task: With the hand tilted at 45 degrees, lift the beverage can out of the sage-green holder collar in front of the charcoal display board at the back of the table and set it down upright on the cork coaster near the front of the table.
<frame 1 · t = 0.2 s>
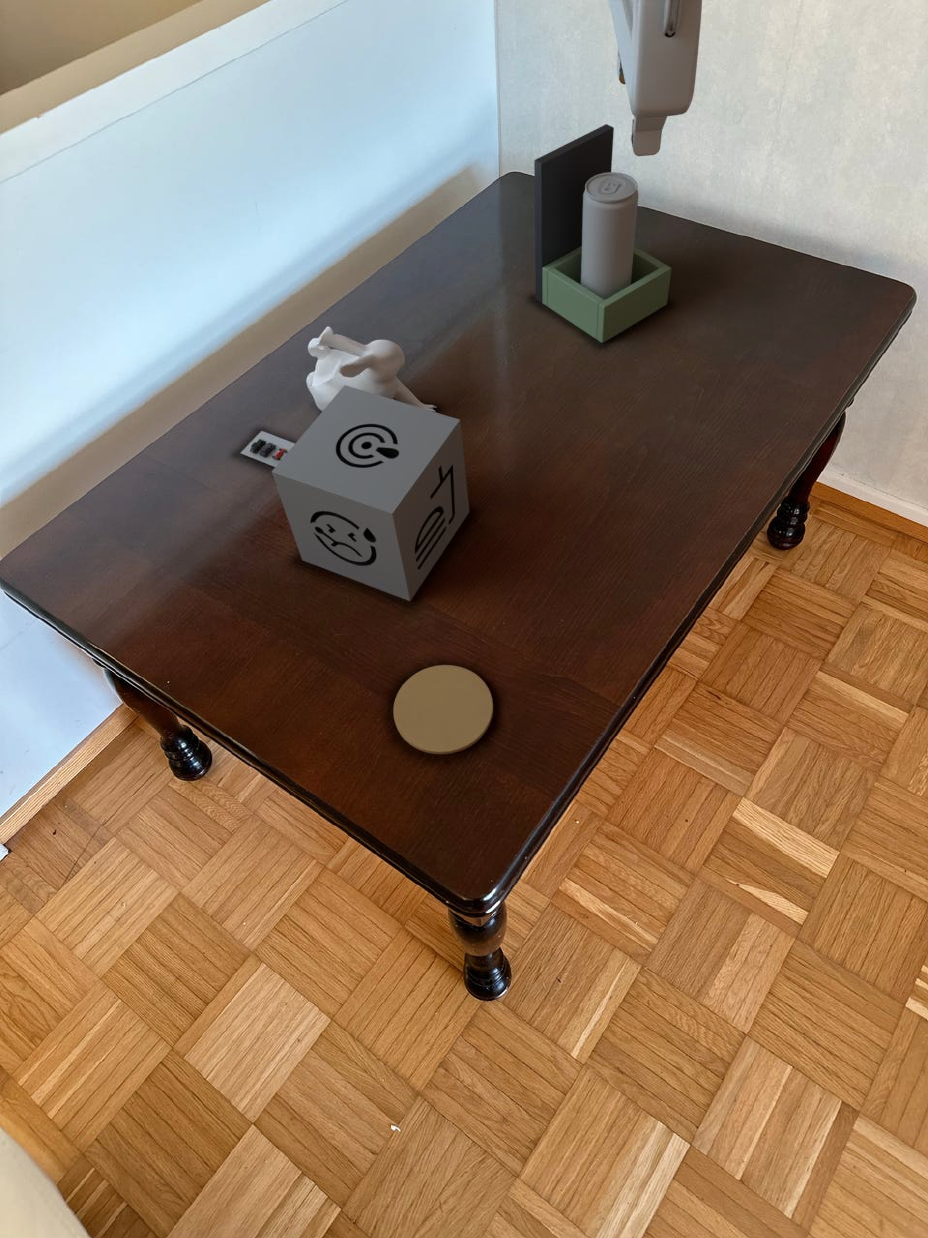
hand: (636, 112, 64), 23 cm above the table, tool pointing down, fingers open, 8 cm apart
beverage can: (604, 305, 89), resting in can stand
coaster: (443, 709, 64), on the table
rabbit figurine: (362, 419, 82), on the table
icon cube: (387, 537, 74), on the table
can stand: (604, 303, 89), on the table
toy car: (287, 457, 80), on the table
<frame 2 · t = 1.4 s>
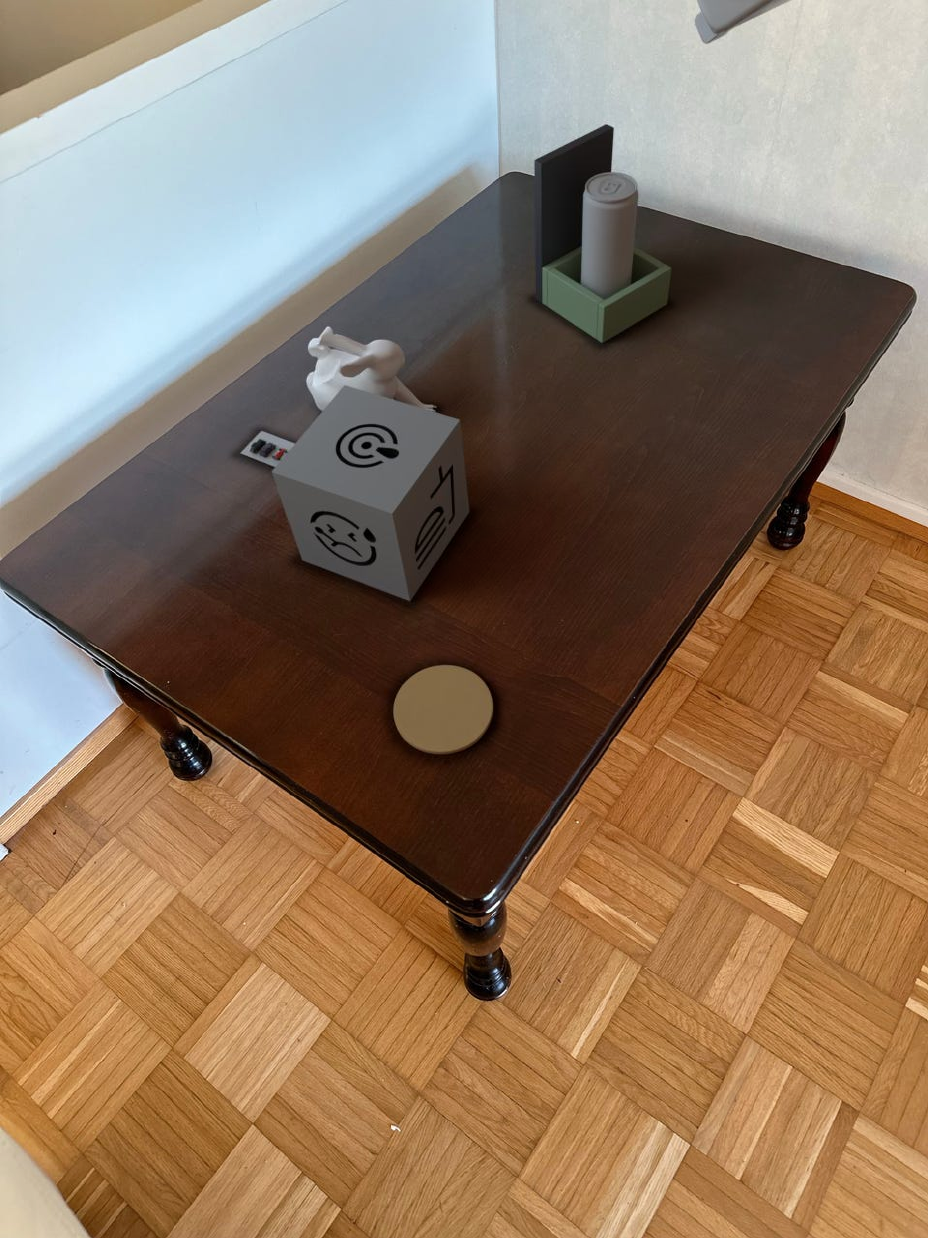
hand: (756, 4, 59), 29 cm above the table, tool tilted 45°, fingers open, 8 cm apart
nothing on the table moved.
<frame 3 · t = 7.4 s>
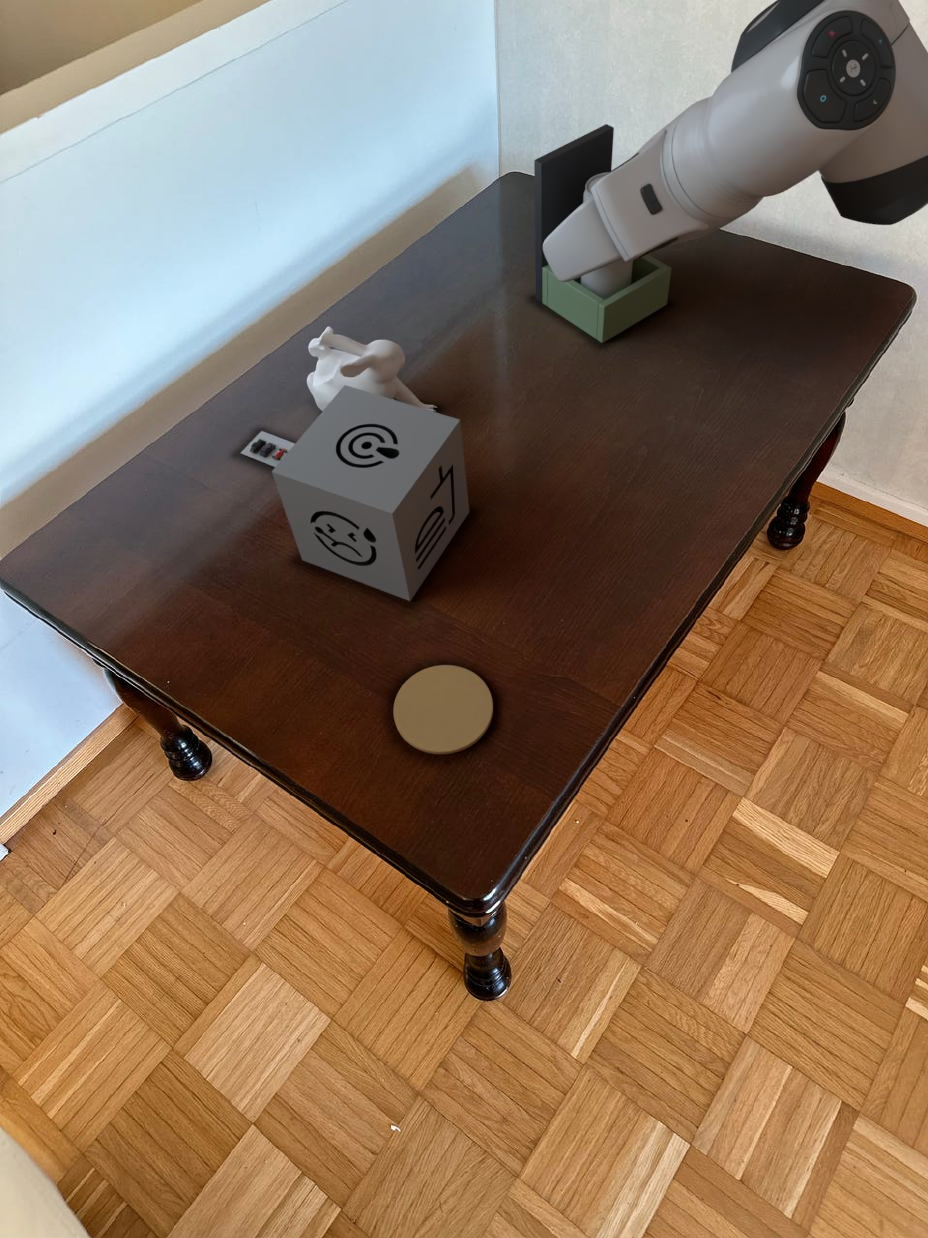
hand: (603, 239, 84), 7 cm above the table, tool tilted 45°, fingers closed on beverage can, 5 cm apart
beverage can: (604, 305, 89), resting in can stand, touching gripper
everything else where it was.
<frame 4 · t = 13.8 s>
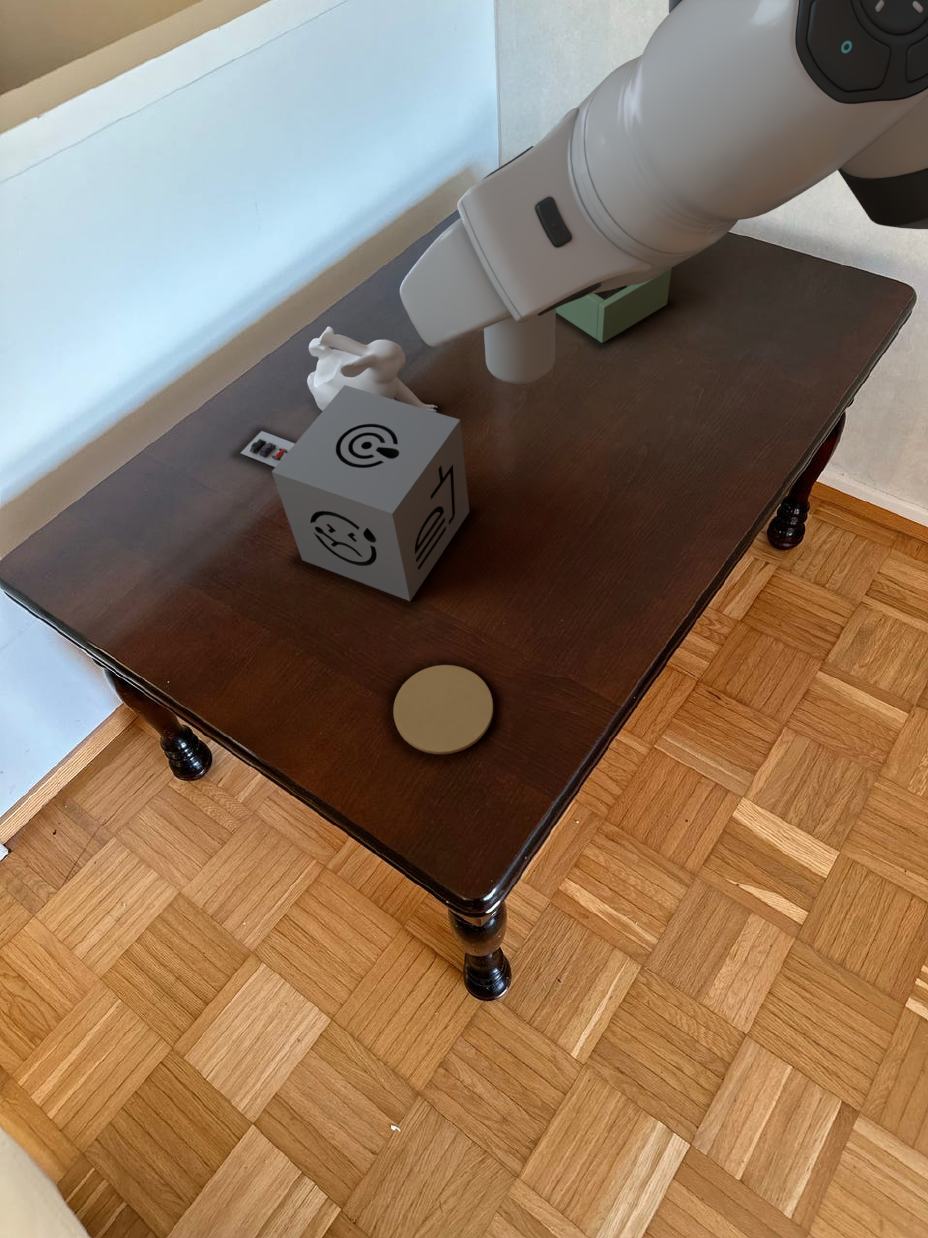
hand: (511, 276, 57), 21 cm above the table, tool tilted 45°, fingers closed on beverage can, 5 cm apart
beverage can: (520, 367, 62), point 14 cm above the table, touching gripper
everything else where it was.
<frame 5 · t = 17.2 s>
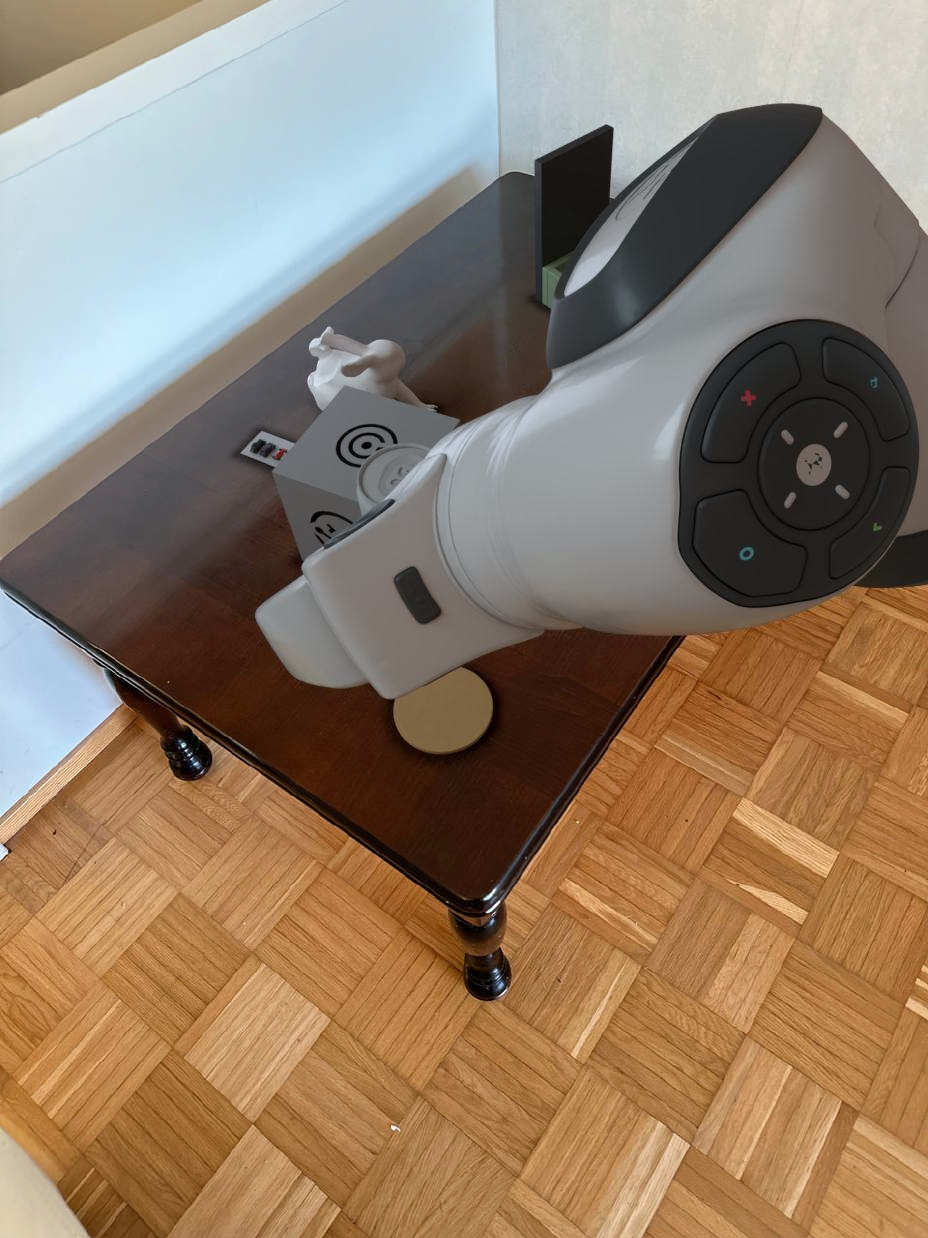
hand: (408, 540, 49), 18 cm above the table, tool tilted 45°, fingers closed on beverage can, 5 cm apart
beverage can: (427, 619, 54), point 11 cm above the table, touching gripper
everything else where it was.
when the fingers open (7 cm above the table, at t = 20.6 s): beverage can stays where it is, resting on coaster.
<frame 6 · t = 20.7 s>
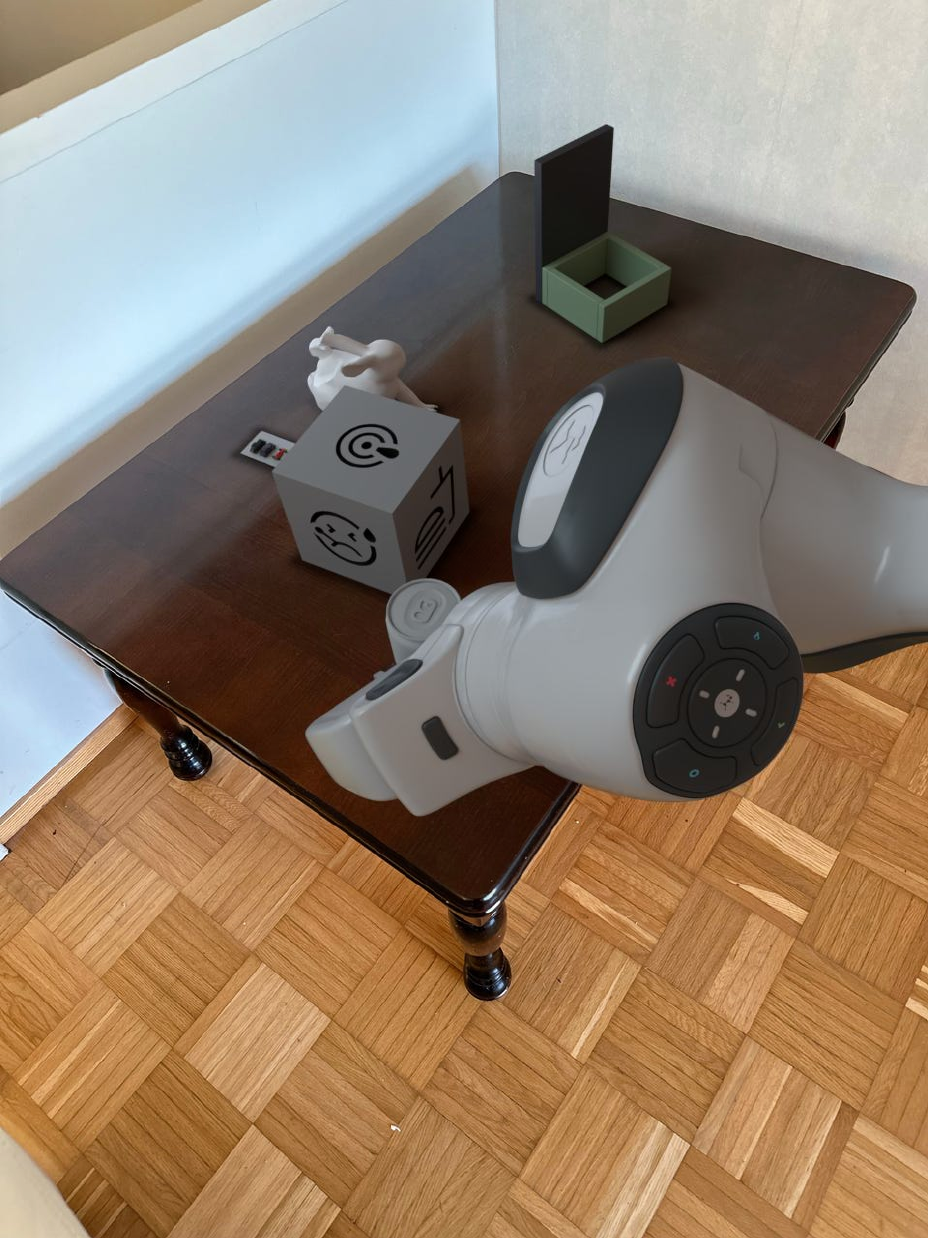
hand: (427, 652, 59), 7 cm above the table, tool tilted 45°, fingers open, 5 cm apart
beverage can: (442, 710, 63), resting on coaster
everything else where it was.
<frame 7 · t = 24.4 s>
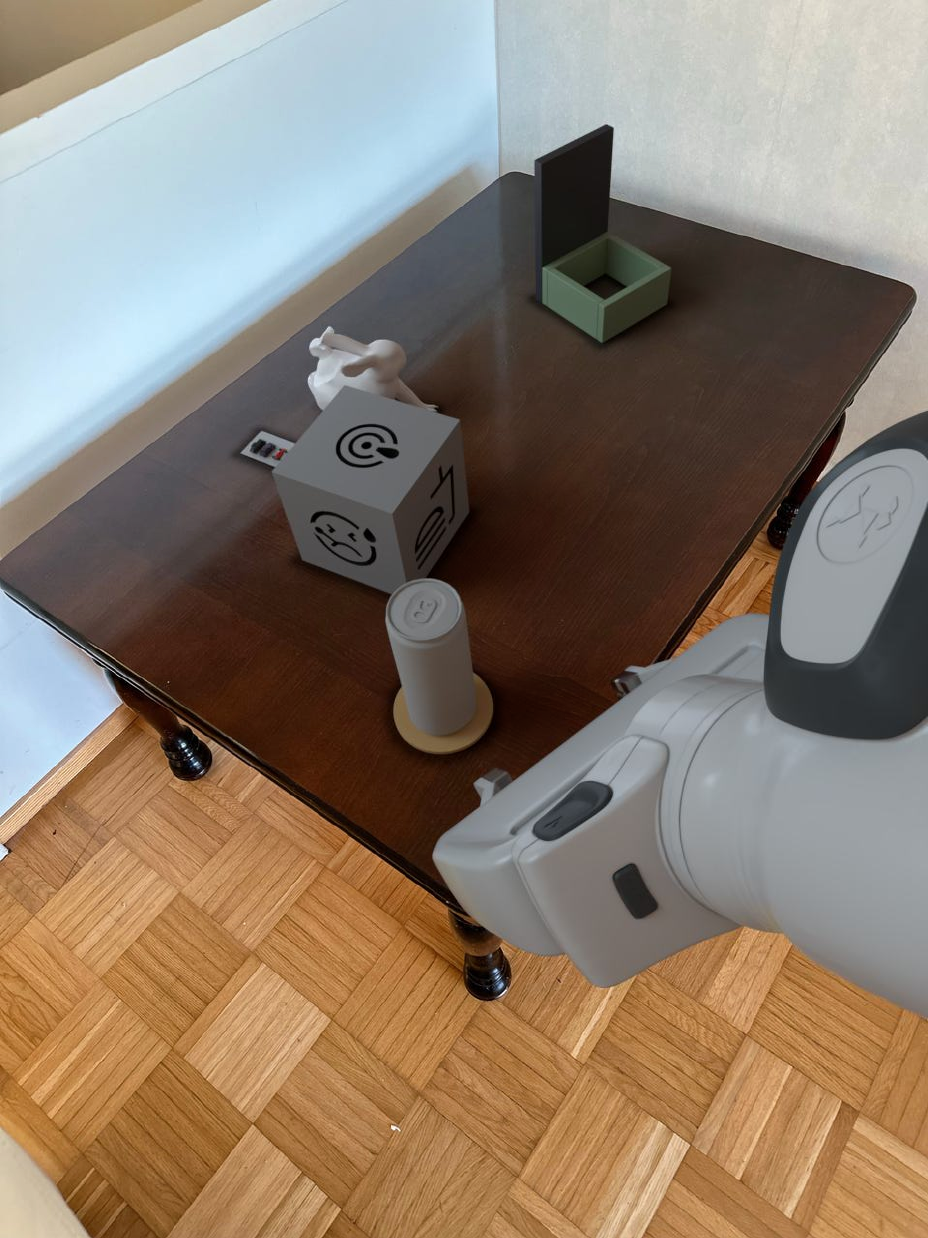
hand: (559, 734, 48), 12 cm above the table, tool tilted 45°, fingers open, 8 cm apart
nothing on the table moved.
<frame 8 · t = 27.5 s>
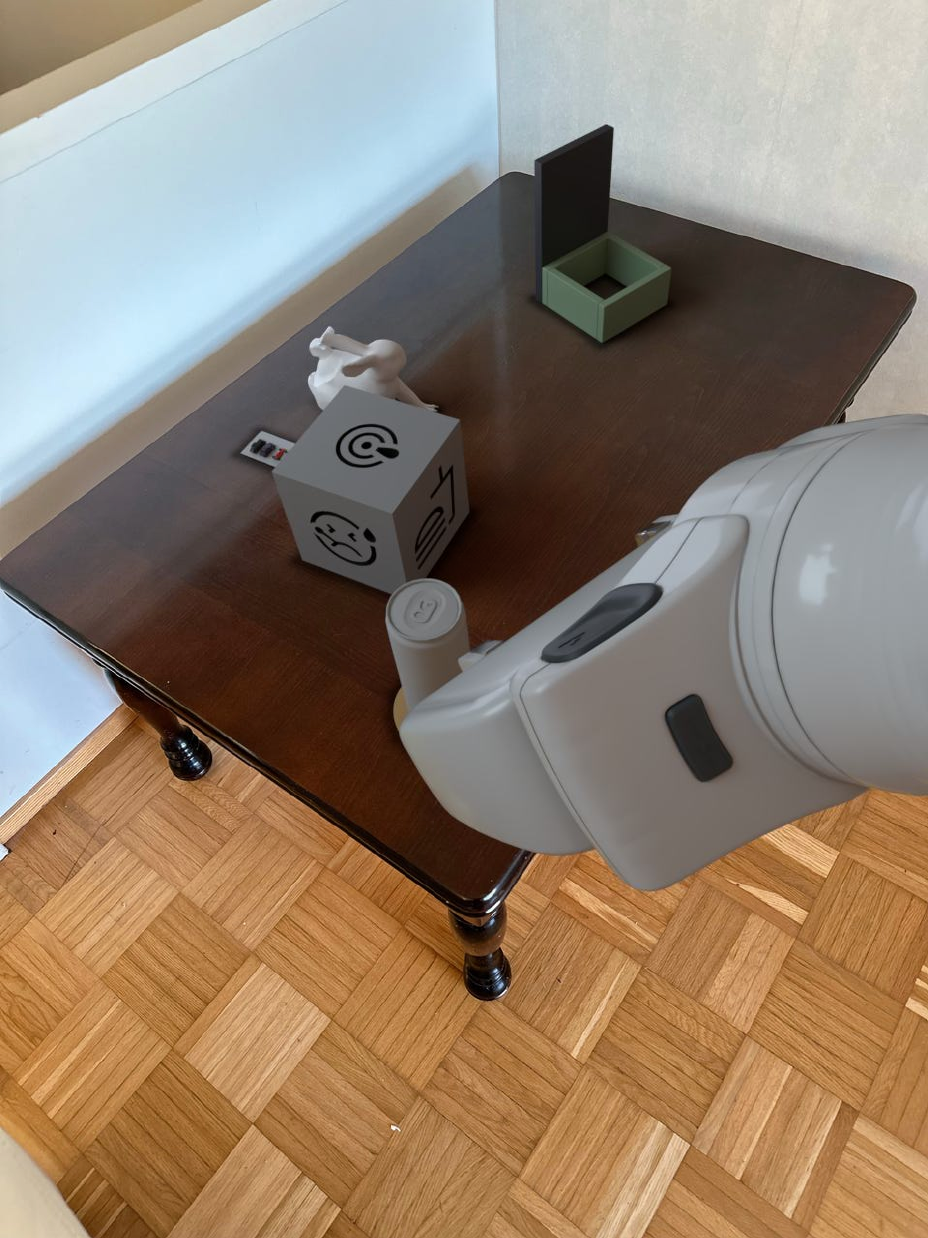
hand: (569, 603, 37), 25 cm above the table, tool tilted 45°, fingers open, 8 cm apart
nothing on the table moved.
at the end: beverage can 0.2 cm off-centre on the coaster, point 0.2 cm above the coaster's base; beverage can tilted 0°; beverage can touching coaster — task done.
